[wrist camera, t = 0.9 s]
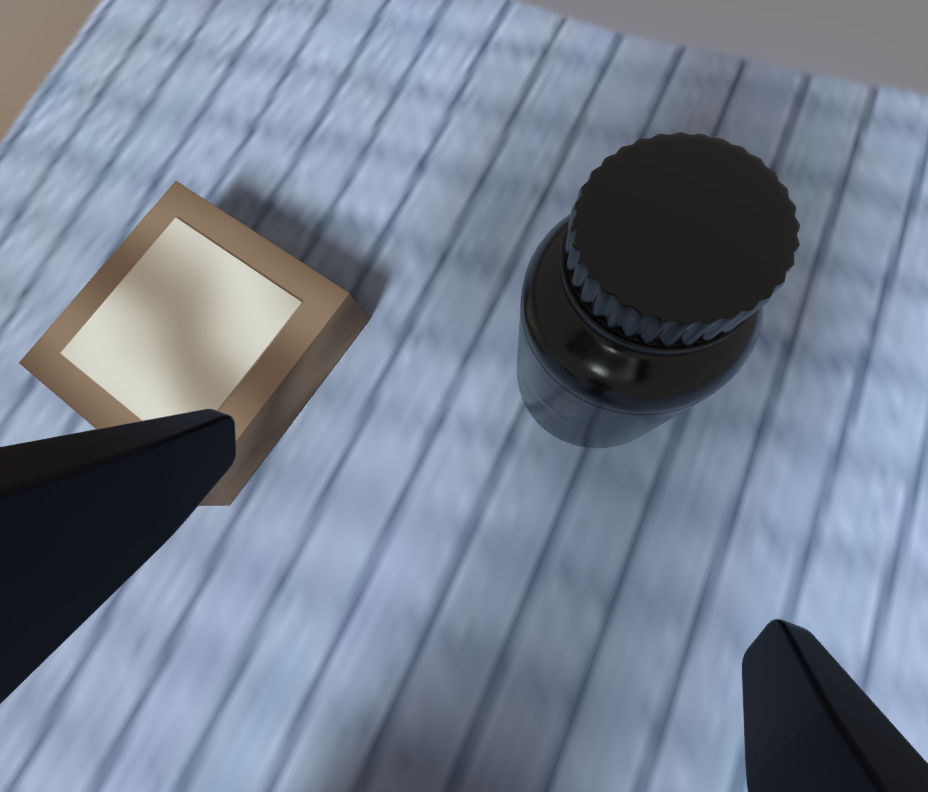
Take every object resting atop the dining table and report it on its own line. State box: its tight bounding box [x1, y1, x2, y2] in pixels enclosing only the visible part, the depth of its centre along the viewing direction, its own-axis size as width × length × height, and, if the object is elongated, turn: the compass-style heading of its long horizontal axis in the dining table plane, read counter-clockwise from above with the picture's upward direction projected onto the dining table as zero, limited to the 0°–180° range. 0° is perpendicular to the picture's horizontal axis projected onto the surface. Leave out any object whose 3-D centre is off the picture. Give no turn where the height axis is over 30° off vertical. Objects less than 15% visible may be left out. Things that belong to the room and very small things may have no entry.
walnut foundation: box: [19, 181, 370, 506], centre depth 22 cm, size 11×11×3 cm
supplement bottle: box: [517, 132, 800, 448], centre depth 16 cm, size 7×7×12 cm
